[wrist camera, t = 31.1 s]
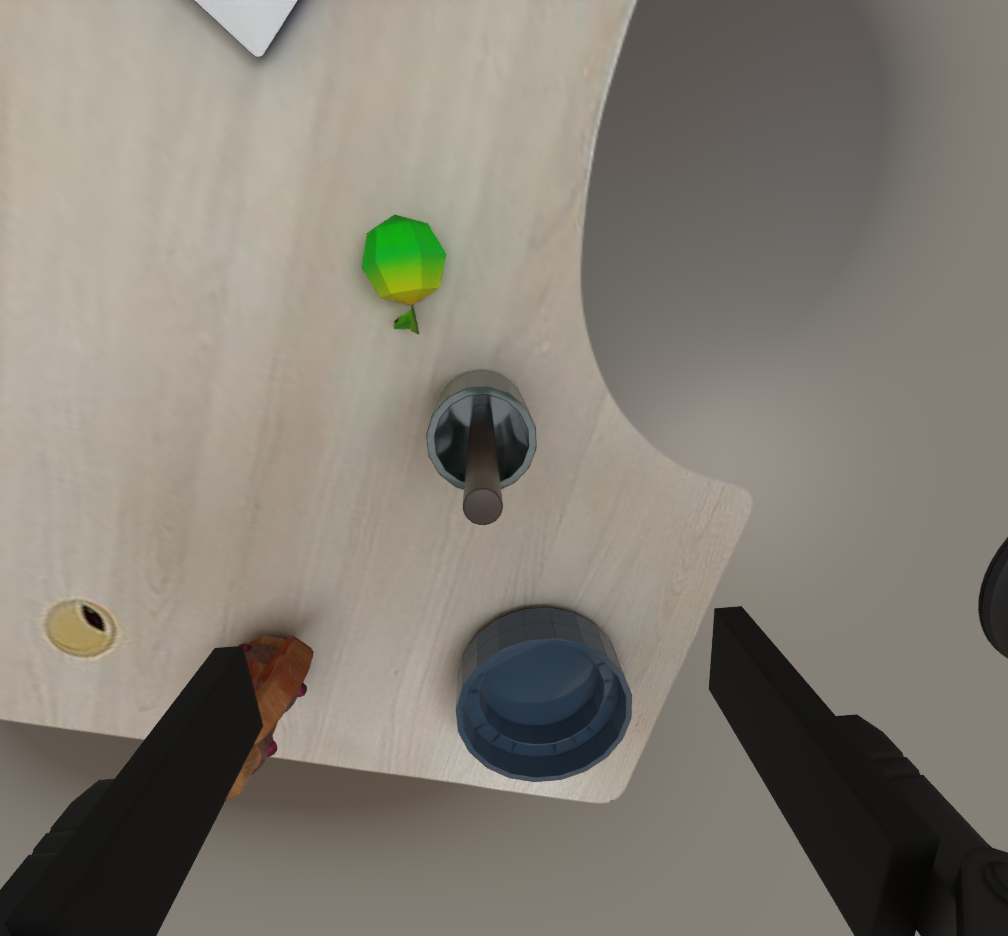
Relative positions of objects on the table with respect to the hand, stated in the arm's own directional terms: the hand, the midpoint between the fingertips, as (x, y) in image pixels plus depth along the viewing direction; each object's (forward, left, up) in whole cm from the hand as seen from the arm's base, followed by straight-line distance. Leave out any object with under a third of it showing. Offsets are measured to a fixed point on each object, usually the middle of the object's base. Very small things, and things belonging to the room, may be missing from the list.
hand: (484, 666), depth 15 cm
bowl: (-4, +29, -35) cm, 45 cm away
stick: (0, 0, -34) cm, 34 cm away
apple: (+5, -12, -35) cm, 37 cm away
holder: (0, 0, -35) cm, 35 cm away
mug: (+22, +23, -35) cm, 47 cm away
